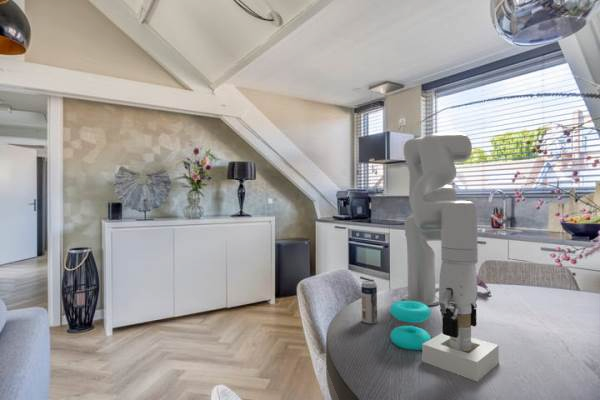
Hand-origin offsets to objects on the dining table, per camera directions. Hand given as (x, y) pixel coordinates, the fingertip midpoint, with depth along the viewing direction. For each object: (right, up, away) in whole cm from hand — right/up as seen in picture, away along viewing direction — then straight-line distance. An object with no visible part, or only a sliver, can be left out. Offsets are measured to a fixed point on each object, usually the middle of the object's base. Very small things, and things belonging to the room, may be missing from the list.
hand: (460, 330), depth 78 cm
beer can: (-15, -8, +26) cm, 32 cm away
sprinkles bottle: (0, -8, 0) cm, 8 cm away
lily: (+34, -7, +56) cm, 66 cm away
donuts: (-8, -8, +11) cm, 15 cm away
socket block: (0, -7, 0) cm, 7 cm away
